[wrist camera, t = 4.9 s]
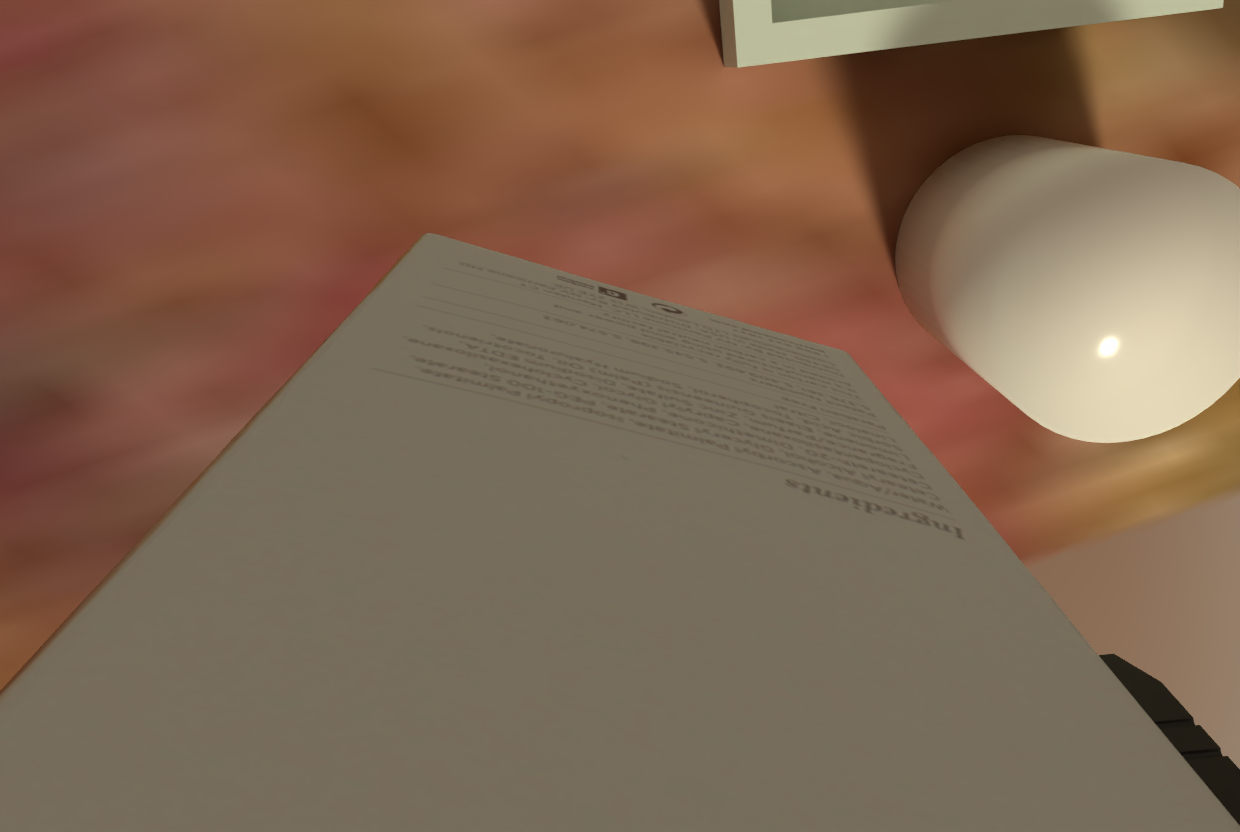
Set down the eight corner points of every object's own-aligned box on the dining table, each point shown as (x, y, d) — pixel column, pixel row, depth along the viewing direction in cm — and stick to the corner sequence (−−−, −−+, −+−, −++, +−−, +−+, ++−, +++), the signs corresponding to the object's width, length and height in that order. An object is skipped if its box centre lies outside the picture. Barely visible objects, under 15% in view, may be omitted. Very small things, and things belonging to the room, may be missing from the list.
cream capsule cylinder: (896, 364, 33) (986, 457, 25) (892, 149, 30) (991, 180, 23) (1107, 340, 32) (1261, 426, 25) (1120, 122, 30) (1296, 143, 22)
